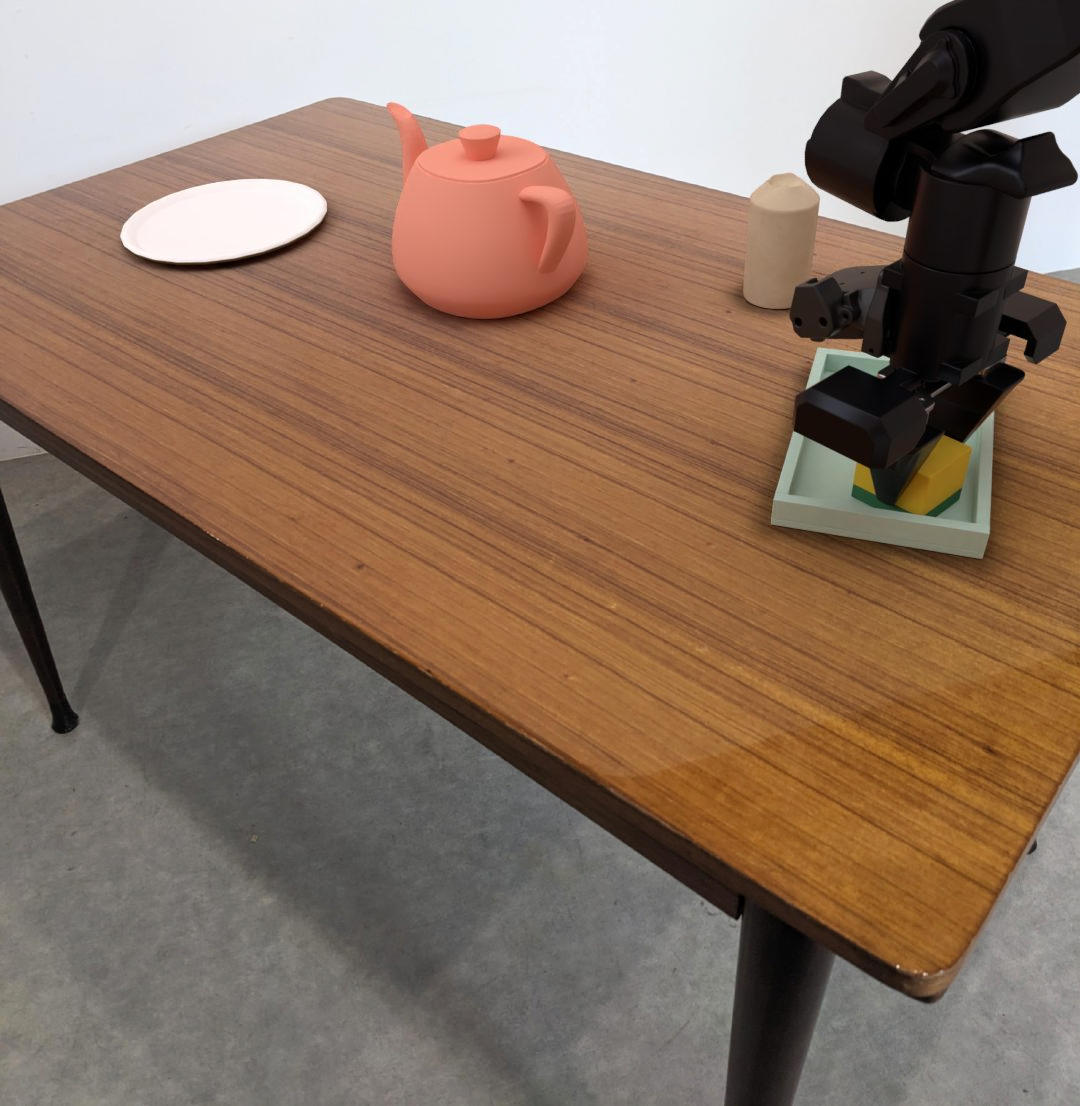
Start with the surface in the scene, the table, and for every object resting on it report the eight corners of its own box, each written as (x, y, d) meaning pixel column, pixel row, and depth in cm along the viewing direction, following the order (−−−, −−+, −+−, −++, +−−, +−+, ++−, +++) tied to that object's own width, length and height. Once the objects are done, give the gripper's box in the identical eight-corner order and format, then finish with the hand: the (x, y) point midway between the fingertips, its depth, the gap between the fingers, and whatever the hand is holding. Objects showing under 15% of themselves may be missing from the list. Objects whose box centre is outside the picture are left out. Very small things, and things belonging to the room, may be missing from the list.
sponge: (959, 499, 66) (972, 447, 64) (918, 531, 64) (930, 478, 62) (892, 467, 69) (902, 416, 67) (850, 496, 67) (858, 444, 65)
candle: (813, 308, 88) (828, 190, 81) (747, 311, 88) (756, 193, 81) (802, 279, 92) (815, 164, 85) (738, 281, 92) (747, 168, 86)
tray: (982, 559, 63) (989, 533, 61) (770, 524, 66) (773, 499, 65) (990, 391, 77) (996, 367, 75) (814, 370, 80) (817, 346, 79)
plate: (84, 237, 108) (80, 226, 107) (250, 175, 119) (248, 163, 118) (198, 292, 96) (195, 279, 96) (370, 217, 108) (368, 205, 107)
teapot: (336, 264, 99) (309, 118, 91) (478, 213, 107) (465, 74, 98) (496, 359, 84) (481, 194, 75) (649, 291, 92) (651, 135, 83)
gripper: (928, 166, 65) (888, 383, 75) (727, 262, 56) (712, 494, 66) (1103, 214, 59) (1033, 446, 69) (905, 331, 50) (858, 577, 60)
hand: (908, 486), depth 66 cm, fingers closed on sponge, 4 cm apart
